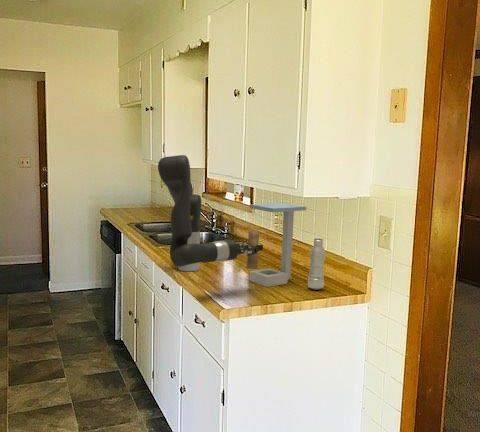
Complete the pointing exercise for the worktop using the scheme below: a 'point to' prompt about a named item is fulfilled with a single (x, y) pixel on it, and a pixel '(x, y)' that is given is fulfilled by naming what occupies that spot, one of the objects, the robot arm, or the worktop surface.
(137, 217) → the worktop surface
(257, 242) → the peg
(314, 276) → the plastic bottle
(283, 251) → the socket stand
